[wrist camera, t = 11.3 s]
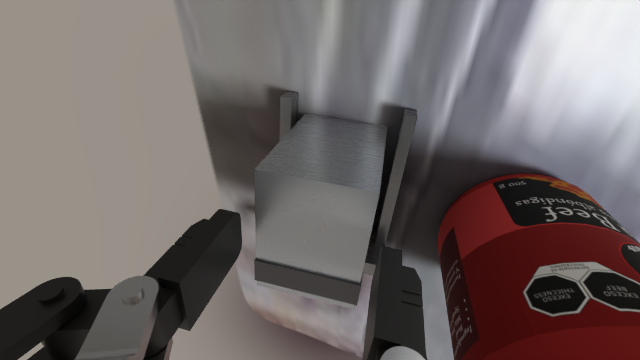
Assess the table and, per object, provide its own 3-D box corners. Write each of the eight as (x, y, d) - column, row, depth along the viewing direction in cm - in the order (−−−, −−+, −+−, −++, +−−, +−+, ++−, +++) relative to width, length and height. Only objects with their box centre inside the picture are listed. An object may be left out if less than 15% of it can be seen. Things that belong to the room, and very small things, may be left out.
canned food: (632, 222, 16) (971, 534, 6) (503, 298, 20) (595, 556, 10) (516, 138, 15) (705, 347, 6) (408, 234, 19) (415, 448, 10)
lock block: (305, 113, 17) (251, 169, 11) (388, 126, 16) (381, 194, 10) (299, 202, 20) (255, 286, 14) (369, 217, 19) (355, 311, 13)
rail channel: (287, 91, 17) (267, 105, 14) (416, 110, 16) (419, 129, 13) (283, 221, 21) (266, 250, 18) (383, 242, 20) (380, 277, 17)
